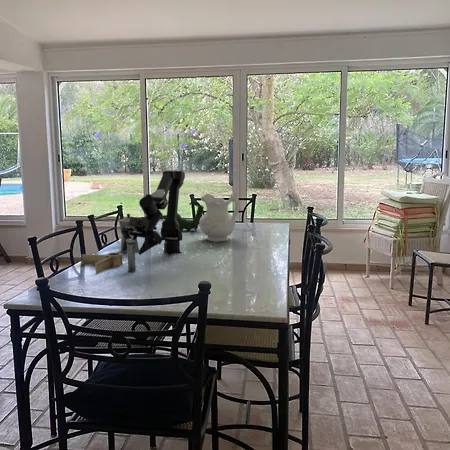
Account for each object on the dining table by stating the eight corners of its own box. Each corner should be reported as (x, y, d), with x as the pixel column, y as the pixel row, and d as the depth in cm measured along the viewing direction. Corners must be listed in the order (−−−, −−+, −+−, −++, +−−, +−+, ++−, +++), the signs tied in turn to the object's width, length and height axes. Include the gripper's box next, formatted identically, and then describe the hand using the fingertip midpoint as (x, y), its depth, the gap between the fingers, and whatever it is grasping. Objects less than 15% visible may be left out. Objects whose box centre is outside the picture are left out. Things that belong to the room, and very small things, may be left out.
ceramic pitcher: (241, 238, 250) (241, 193, 248) (238, 243, 231) (238, 194, 229) (202, 238, 253) (202, 193, 250) (196, 242, 233) (196, 194, 231)
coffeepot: (144, 252, 214) (143, 214, 211) (125, 255, 209) (124, 216, 206) (132, 246, 226) (130, 210, 223) (113, 248, 221) (112, 212, 218)
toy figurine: (202, 232, 273) (161, 228, 273) (205, 201, 269) (163, 197, 270) (200, 235, 263) (158, 231, 264) (203, 202, 260) (160, 198, 261)
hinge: (113, 259, 201) (113, 249, 201) (129, 268, 186) (129, 257, 185) (82, 263, 194) (81, 253, 193) (96, 273, 179) (95, 262, 178)
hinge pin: (134, 269, 184) (133, 238, 182) (138, 271, 181) (137, 239, 179) (125, 270, 182) (124, 239, 180) (129, 273, 179) (128, 240, 177)
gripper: (123, 207, 187) (103, 238, 180) (156, 211, 176) (136, 243, 169) (138, 223, 195) (119, 253, 188) (170, 228, 184) (152, 260, 177)
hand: (131, 252), depth 180 cm, fingers open, 9 cm apart
